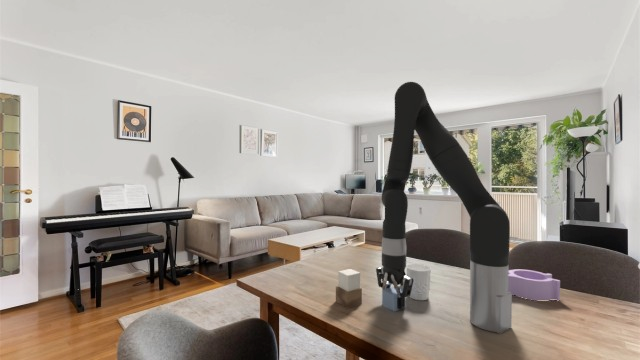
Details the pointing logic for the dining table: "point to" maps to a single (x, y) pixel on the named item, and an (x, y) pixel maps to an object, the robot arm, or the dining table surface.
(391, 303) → the blue cube
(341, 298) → the tower base
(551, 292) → the purple piece
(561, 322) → the dining table surface
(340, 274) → the tower top
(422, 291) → the white cup
